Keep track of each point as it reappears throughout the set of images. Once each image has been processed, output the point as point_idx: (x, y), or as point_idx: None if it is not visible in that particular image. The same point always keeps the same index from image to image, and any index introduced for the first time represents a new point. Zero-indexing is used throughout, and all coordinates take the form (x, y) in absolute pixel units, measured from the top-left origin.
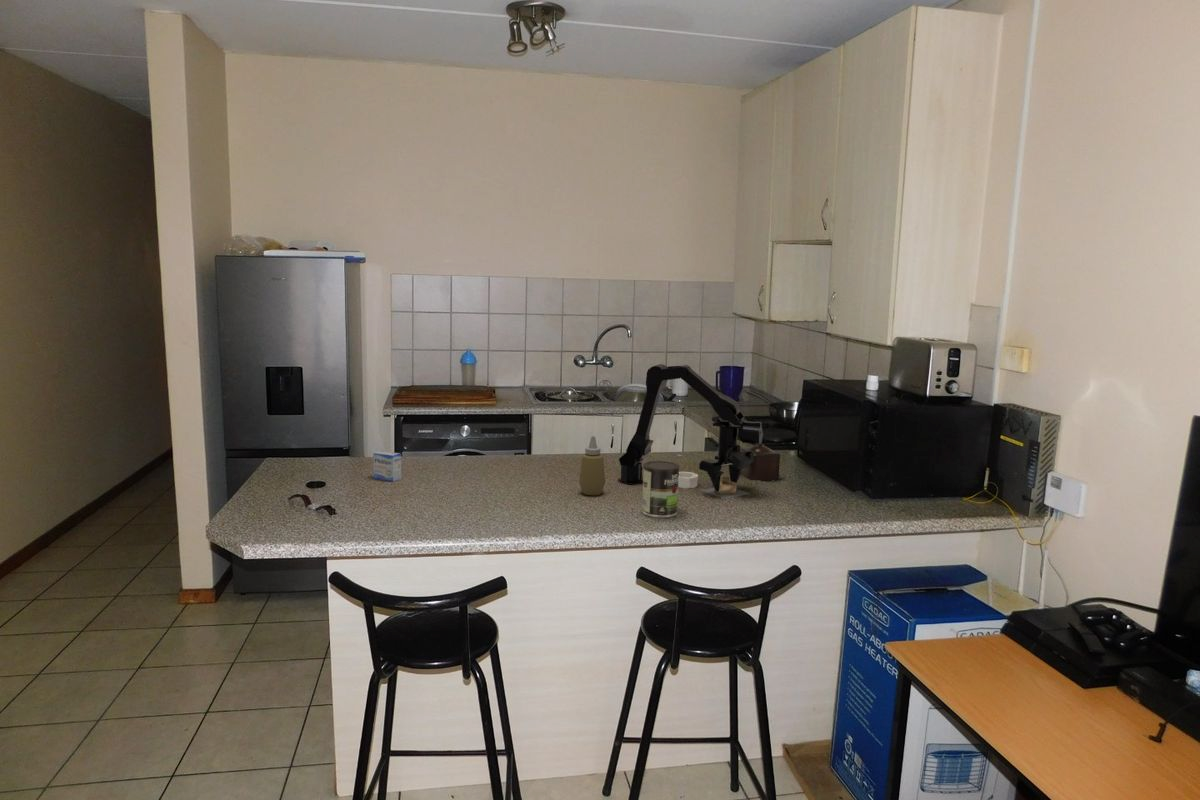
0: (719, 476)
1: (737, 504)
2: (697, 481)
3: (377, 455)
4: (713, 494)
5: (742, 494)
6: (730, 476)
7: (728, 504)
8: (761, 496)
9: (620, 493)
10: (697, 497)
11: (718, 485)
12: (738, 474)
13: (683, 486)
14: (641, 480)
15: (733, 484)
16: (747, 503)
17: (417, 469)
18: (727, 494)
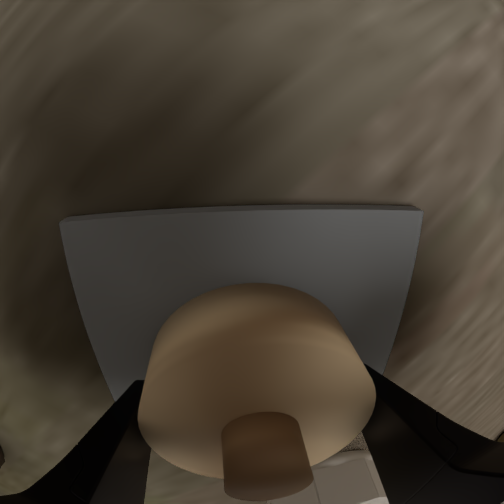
0: (465, 457)
1: (405, 71)
2: (315, 491)
3: None
4: (383, 351)
5: (152, 235)
6: (142, 490)
7: (455, 127)
8: (8, 142)
9: (497, 426)
10: (448, 353)
11: (401, 393)
12: (77, 483)
13: None
14: None
15: (211, 384)
16: (304, 24)
17: None
18: (314, 298)
